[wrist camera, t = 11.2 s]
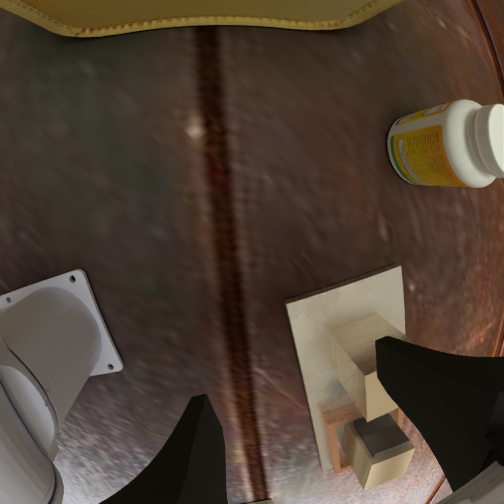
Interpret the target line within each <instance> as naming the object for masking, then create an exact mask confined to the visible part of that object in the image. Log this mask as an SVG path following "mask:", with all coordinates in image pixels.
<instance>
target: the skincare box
mask: <svg viewBox="0 0 504 504" xmlns="http://www.w3.org/2000/svg"><path fill="white" fill-rule="evenodd" d="M247 504H273V502H272V501H271V500H265V501H259V502H253V503H247Z"/></svg>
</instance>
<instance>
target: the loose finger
mask: <svg viewBox="0 0 504 504" xmlns="http://www.w3.org/2000/svg"><path fill="white" fill-rule="evenodd" d="M341 447H342V449H343V451H344V453H345V455H346V457H347V459H348V461H349V463H350V465H351V466H352V468H353V470H354V472H355V474H356V476H357V478H358V480H359V482H360V484H361V486H362V488H363V490H366V489H369V488H372V487H375V486H377V485H380V484H382V483H385V482H387V481H390V480H392V479H395V478H397V477H399V476H402V475H404V474H405V472H406V470H407V467H408V465H409V463H410V460H411V458H412V455H413V453H414V450H415V448H416V447H415V446H414V445H413V444H412V442H411V441H410V440H409V438H408V437H407V436H406V435H405V433H404V432H403V431H402V429H401V428H400V427H399V425H398V424H397V423H396V422H395V420H394V419H393V418H392V416H391V415H390V414H389V413H386V414H384V415H382V416H380V417H378V418H375V419H373V420H371V421H369V422H367V421H366V419H365V418H364V416H362V417H360V418H357V419H355V420H353V421H350V422H348V423H345V424H344V432H343V439H342V446H341Z"/></svg>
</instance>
